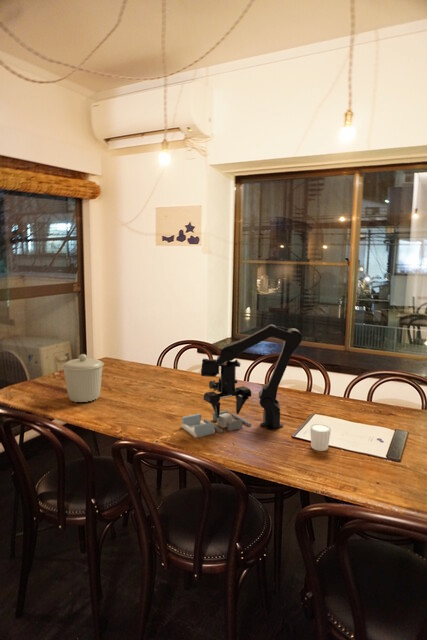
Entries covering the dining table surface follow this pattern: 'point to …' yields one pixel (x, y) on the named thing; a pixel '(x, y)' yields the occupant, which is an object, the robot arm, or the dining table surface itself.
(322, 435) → the shot glass
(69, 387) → the canister
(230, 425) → the blocks
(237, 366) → the robot arm
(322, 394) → the dining table surface
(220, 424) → the usb wall charger
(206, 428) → the drawer
